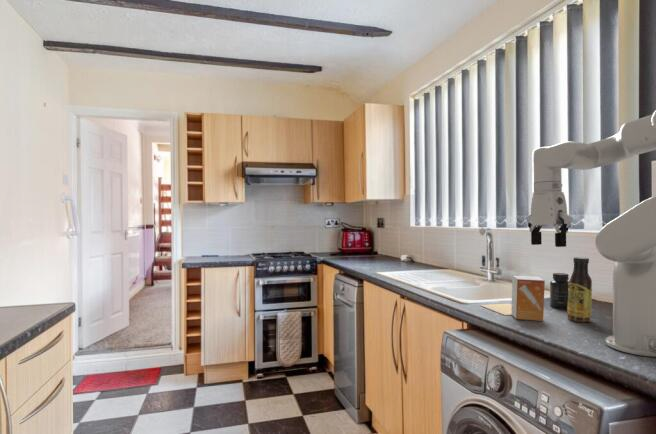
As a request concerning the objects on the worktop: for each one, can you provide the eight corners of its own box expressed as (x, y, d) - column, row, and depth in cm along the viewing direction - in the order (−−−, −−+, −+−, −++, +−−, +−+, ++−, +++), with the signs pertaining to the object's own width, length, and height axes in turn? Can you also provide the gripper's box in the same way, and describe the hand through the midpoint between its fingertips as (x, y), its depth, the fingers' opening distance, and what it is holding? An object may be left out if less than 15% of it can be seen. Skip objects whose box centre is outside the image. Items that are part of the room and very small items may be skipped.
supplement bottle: (550, 303, 143) (550, 271, 143) (572, 306, 139) (572, 273, 139) (548, 307, 137) (548, 274, 137) (571, 310, 133) (571, 275, 133)
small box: (515, 319, 122) (516, 278, 121) (511, 313, 128) (512, 275, 127) (544, 321, 120) (545, 280, 119) (537, 315, 126) (538, 276, 126)
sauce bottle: (562, 318, 123) (562, 256, 123) (576, 316, 125) (576, 255, 125) (582, 324, 117) (582, 259, 117) (596, 322, 119) (596, 258, 119)
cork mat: (536, 313, 129) (536, 312, 129) (505, 315, 127) (505, 314, 127) (509, 304, 143) (509, 303, 143) (480, 305, 141) (480, 305, 141)
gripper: (581, 186, 108) (583, 247, 108) (537, 190, 125) (538, 243, 125) (558, 186, 106) (559, 248, 106) (516, 190, 123) (517, 244, 123)
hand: (548, 245), depth 115 cm, fingers open, 9 cm apart
